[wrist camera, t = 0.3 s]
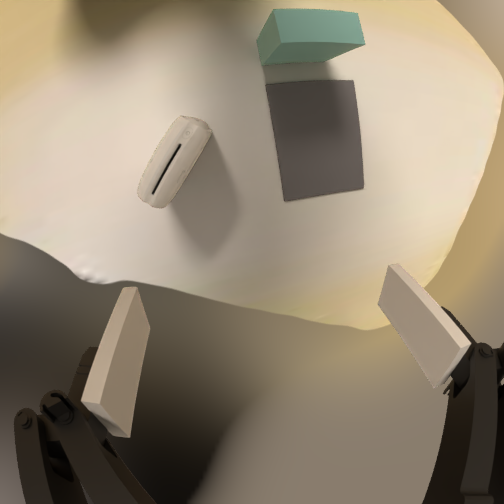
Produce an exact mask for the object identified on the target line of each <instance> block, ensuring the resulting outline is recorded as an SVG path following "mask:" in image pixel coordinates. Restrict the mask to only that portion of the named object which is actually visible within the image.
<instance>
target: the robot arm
mask: <svg viewBox="0 0 504 504" xmlns="http://www.w3.org/2000/svg"><path fill="white" fill-rule="evenodd" d="M378 305H379V307H380V308H381V310H382V311H383V312H384V314H385V315H386V317H387V318H388V319H389V321H390V322H391V324H392V325H393V327H394V328H395V329H396V331H397V332H398V334H399V335H400V337H401V338H402V340H403V341H404V343H405V344H406V346H407V347H408V348H409V350H410V352H411V353H412V355H413V356H414V358H415V359H416V361H417V363H418V364H419V366H420V367H421V369H422V370H423V372H424V374H425V375H426V376H427V378H428V380H429V382H430V383H431V385H432V387H433V388H436V387H438V386H440V385H442V384H444V383H445V382H446V381H447V379H448V378H449V377H450V375H451V377H452V378H453V380H452V381H451V382H450V384H449V385H448V386H447V388H446V389H445V390H444V393H443V394H446V392H447V391H448V390H449V389H450V391H449V393H448V395H449V399H448V406H447V413H446V419H445V425H444V430H443V435H442V440H441V444H440V449H439V452H438V456H437V460H436V464H435V467H434V471H433V474H432V477H431V481H430V483H429V486H428V490H427V492H426V495H425V498H424V500H423V503H422V504H504V384H503V385H501V380H502V379H503V378H504V343H503V344H502V346H501V347H500V348H497V349H492V348H491V347H490V346H489V345H488V344H486V343H478V344H477V343H476V342H475V340H474V339H473V338H472V337H471V335H470V334H469V333H468V332H467V331H466V330H465V328H464V327H463V326H462V325H460V322H459V321H458V320H456V318H455V317H454V316H453V314H452V313H451V312H450V311H448V310H447V309H445V308H444V307H440V306H439V305H438V304H437V303H436V301H435V300H434V299H433V298H432V297H431V296H430V295H429V294H428V293H427V292H426V291H425V290H424V289H423V287H422V286H421V285H420V284H419V283H418V282H417V281H416V280H415V279H414V278H413V277H412V276H411V275H410V274H409V273H408V272H407V271H406V270H405V269H404V268H403V267H402V266H401V265H400V264H392V265H388V269H387V273H386V277H385V280H384V284H383V288H382V291H381V295H380V298H379V302H378ZM149 332H150V326H149V323H148V320H147V317H146V314H145V311H144V308H143V304H142V301H141V298H140V295H139V291H138V288H137V287H125V288H123V289H122V292H121V294H120V296H119V298H118V301H117V303H116V305H115V308H114V310H113V312H112V315H111V317H110V320H109V322H108V325H107V327H106V330H105V332H104V335H103V338H102V340H101V343H100V345H99V347H89V349H88V350H87V351H86V352H85V353H84V354H83V356H82V358H81V361H80V363H79V367H78V368H77V371H76V374H75V377H74V380H73V382H72V385H71V388H70V391H69V394H68V396H67V395H66V394H65V393H63V392H62V391H60V390H53V391H50V392H48V393H47V394H45V395H44V397H43V398H42V400H41V403H40V412H41V413H42V415H37V414H36V413H35V412H34V411H33V410H31V409H29V408H24V409H22V410H20V411H19V412H18V413H17V414H16V416H15V419H14V432H15V444H16V453H17V461H18V468H19V474H20V479H21V485H22V489H23V494H24V497H25V501H26V504H88V503H87V500H86V498H85V495H84V492H83V489H82V486H81V483H82V485H83V487H84V489H85V490H86V492H87V493H88V495H89V497H90V498H91V500H92V501H93V503H94V504H157V503H156V502H155V501H154V500H153V499H152V498H151V497H150V496H149V494H148V493H147V492H146V491H145V490H144V488H143V487H142V486H141V485H140V483H139V482H138V481H137V480H136V478H135V477H134V476H133V474H132V473H131V472H130V470H129V469H128V468H127V466H126V465H125V464H124V462H123V461H122V459H121V458H120V457H119V455H118V454H117V452H116V451H115V449H114V448H113V446H112V445H111V443H110V441H109V440H108V439H107V438H106V434H107V430H108V431H109V432H110V433H111V434H112V435H113V436H120V437H128V438H130V432H131V426H132V419H133V413H134V406H135V399H136V395H137V389H138V384H139V378H140V373H141V368H142V363H143V359H144V354H145V349H146V344H147V340H148V336H149ZM80 482H81V483H80Z"/></svg>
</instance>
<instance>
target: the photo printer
mask: <svg viewBox="0 0 504 504" xmlns="http://www.w3.org/2000/svg"><path fill="white" fill-rule="evenodd" d="M211 133H212V130H211V129H209V126H208V124H207V123H206V122H205V121H203V120H201V119H198V118H193V117H186V116H180V117H179V118H177V119H176V120H175V122H174V123H173V124H172V125H171V126H170V128H169V129H168V131H167V132H166V134H165V135H164V137H163V138H162V140H161V141H160V143H159V145H158V146H157V148H156V150H155V152H154V153H153V155H152V157H151V159H150V161H149V163H148V165H147V167H146V169H145V171H144V173H143V175H142V178H141V180H140V183H139V186H138V191H137V194H138V197H139V198H140V199H141V200H142V201H143V202H146V203H148V204H149V205H151V206H152V207H155V208H164V207H166V206H167V205H168V204H169V203H170V202H171V200H172V199H173V198H174V196H175V195H176V194H177V192H178V190H179V188H180V187H181V185H182V184H183V182H184V180H185V179H186V177H187V176H188V174H189V172H190V171H191V169H192V167H193V166H194V164H195V162H196V161H197V159H198V157H199V156H200V154H201V152H202V151H203V149H204V147H205V145H206V144H207V141H208V140H209V138H210V136H211Z"/></svg>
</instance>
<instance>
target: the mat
mask: <svg viewBox="0 0 504 504" xmlns="http://www.w3.org/2000/svg"><path fill="white" fill-rule="evenodd" d="M266 90H267V95H268V101H269V106H270V112H271V118H272V124H273V130H274V136H275V142H276V148H277V154H278V161H279V167H280V174H281V181H282V188H283V195H284V201H290V200H295V199H301V198H306V197H312V196H318V195H324V194H330V193H336V192H342V191H348V190H355V189H361V188H364V180H363V161H362V147H361V135H360V125H359V116H358V108H357V101H356V94H355V87H354V81H353V80H328V81H304V82H291V83H280V84H270V85H266Z"/></svg>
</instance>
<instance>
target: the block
mask: <svg viewBox="0 0 504 504" xmlns="http://www.w3.org/2000/svg"><path fill="white" fill-rule="evenodd" d="M257 45H258V50H259V54H260V59H261V64H262V65H272V64H283V63H299V62H325V61H327V60H329V59H332V58H334V57H336V56H338V55H341V54H343V53H346V52H348V51H350V50H353V49H355V48H358V47H360V46H363V45H365V41H364V36H363V32H362V28H361V24H360V20H359V17H358V13H353V12H345V11H335V10H321V9H273V11H272V12H271V14H270V16H269V18H268V20H267V22H266V23H265V25H264V27H263V29H262V31H261V33H260V35H259V37H258V39H257Z"/></svg>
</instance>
